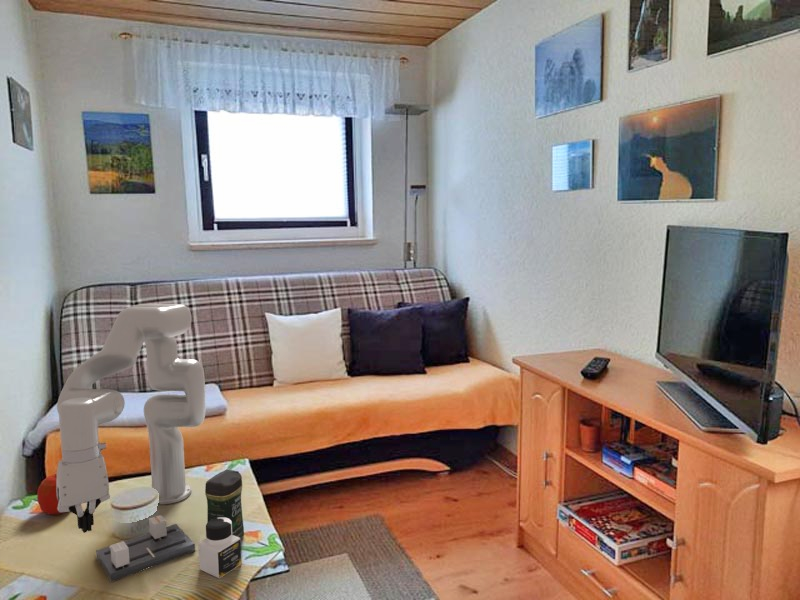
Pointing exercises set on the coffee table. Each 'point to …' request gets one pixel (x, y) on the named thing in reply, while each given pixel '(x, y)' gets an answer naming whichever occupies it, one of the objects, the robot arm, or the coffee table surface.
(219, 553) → the medicine bottle
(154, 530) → the fader
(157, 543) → the console
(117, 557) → the fader
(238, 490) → the coffee jar
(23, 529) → the coffee table surface
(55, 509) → the apple
